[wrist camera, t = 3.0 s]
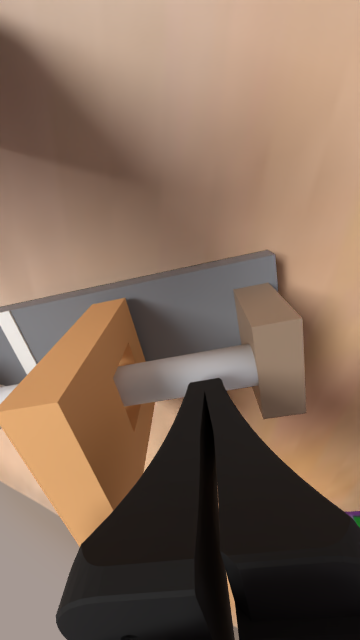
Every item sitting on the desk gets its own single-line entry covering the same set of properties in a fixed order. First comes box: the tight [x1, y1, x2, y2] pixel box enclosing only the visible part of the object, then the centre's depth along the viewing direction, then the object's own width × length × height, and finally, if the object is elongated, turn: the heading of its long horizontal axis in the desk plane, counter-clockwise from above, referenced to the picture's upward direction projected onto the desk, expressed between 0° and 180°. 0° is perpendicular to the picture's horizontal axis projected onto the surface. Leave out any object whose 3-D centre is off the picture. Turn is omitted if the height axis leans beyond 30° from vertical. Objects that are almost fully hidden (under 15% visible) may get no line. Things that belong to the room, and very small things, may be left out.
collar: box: [0, 298, 155, 546], centre depth 13 cm, size 2×7×9 cm, turn 13°
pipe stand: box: [0, 250, 306, 429], centre depth 16 cm, size 23×8×7 cm, turn 103°
